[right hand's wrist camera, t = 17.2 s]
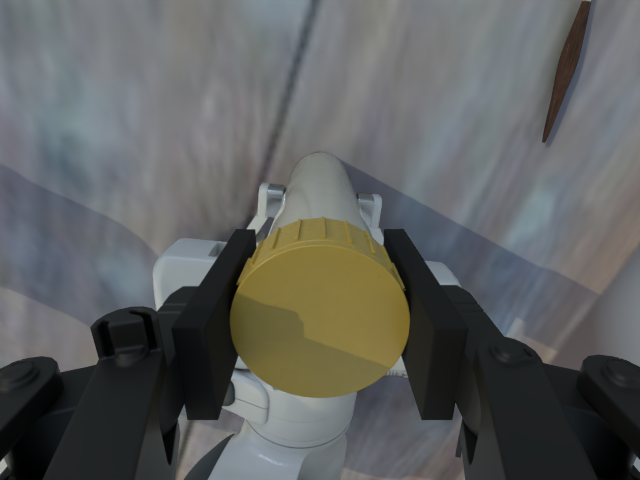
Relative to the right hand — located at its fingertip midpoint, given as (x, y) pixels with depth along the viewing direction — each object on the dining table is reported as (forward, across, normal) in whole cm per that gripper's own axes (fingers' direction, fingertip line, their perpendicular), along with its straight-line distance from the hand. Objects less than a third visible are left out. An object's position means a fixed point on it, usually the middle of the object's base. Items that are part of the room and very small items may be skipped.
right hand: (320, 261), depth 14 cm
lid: (-4, 0, 0) cm, 4 cm away
